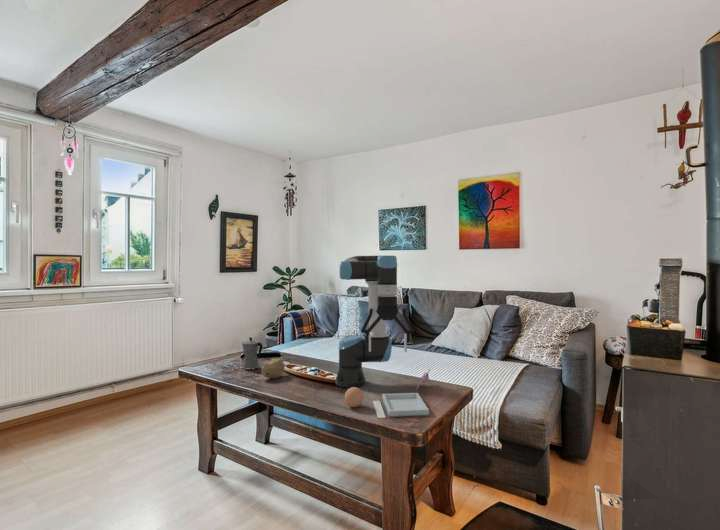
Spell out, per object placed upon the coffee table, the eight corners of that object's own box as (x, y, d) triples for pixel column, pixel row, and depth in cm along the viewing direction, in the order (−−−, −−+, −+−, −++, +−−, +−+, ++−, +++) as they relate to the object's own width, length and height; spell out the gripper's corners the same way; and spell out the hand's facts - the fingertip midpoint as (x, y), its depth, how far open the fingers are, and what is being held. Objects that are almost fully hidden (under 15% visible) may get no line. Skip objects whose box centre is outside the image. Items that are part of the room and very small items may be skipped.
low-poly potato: (282, 373, 209) (263, 364, 208) (290, 358, 206) (271, 348, 205) (275, 389, 194) (255, 379, 193) (284, 373, 191) (263, 363, 190)
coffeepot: (236, 368, 217) (236, 337, 217) (248, 364, 226) (248, 335, 226) (256, 372, 210) (256, 340, 210) (267, 368, 219) (267, 337, 219)
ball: (344, 403, 161) (344, 384, 161) (362, 402, 162) (362, 384, 162) (345, 410, 153) (344, 391, 153) (364, 409, 154) (364, 390, 154)
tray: (382, 398, 166) (382, 393, 166) (417, 397, 167) (417, 392, 167) (389, 416, 146) (388, 411, 146) (429, 415, 147) (429, 409, 147)
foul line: (372, 401, 163) (372, 400, 163) (379, 401, 163) (379, 400, 163) (377, 418, 145) (377, 417, 145) (385, 418, 145) (385, 417, 145)
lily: (426, 384, 190) (417, 368, 190) (445, 379, 183) (435, 362, 183) (416, 398, 180) (406, 381, 181) (436, 393, 173) (426, 375, 173)
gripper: (354, 296, 140) (354, 353, 140) (421, 296, 138) (421, 353, 138) (355, 294, 147) (355, 348, 147) (419, 294, 146) (419, 349, 146)
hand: (387, 351), depth 143 cm, fingers open, 13 cm apart
